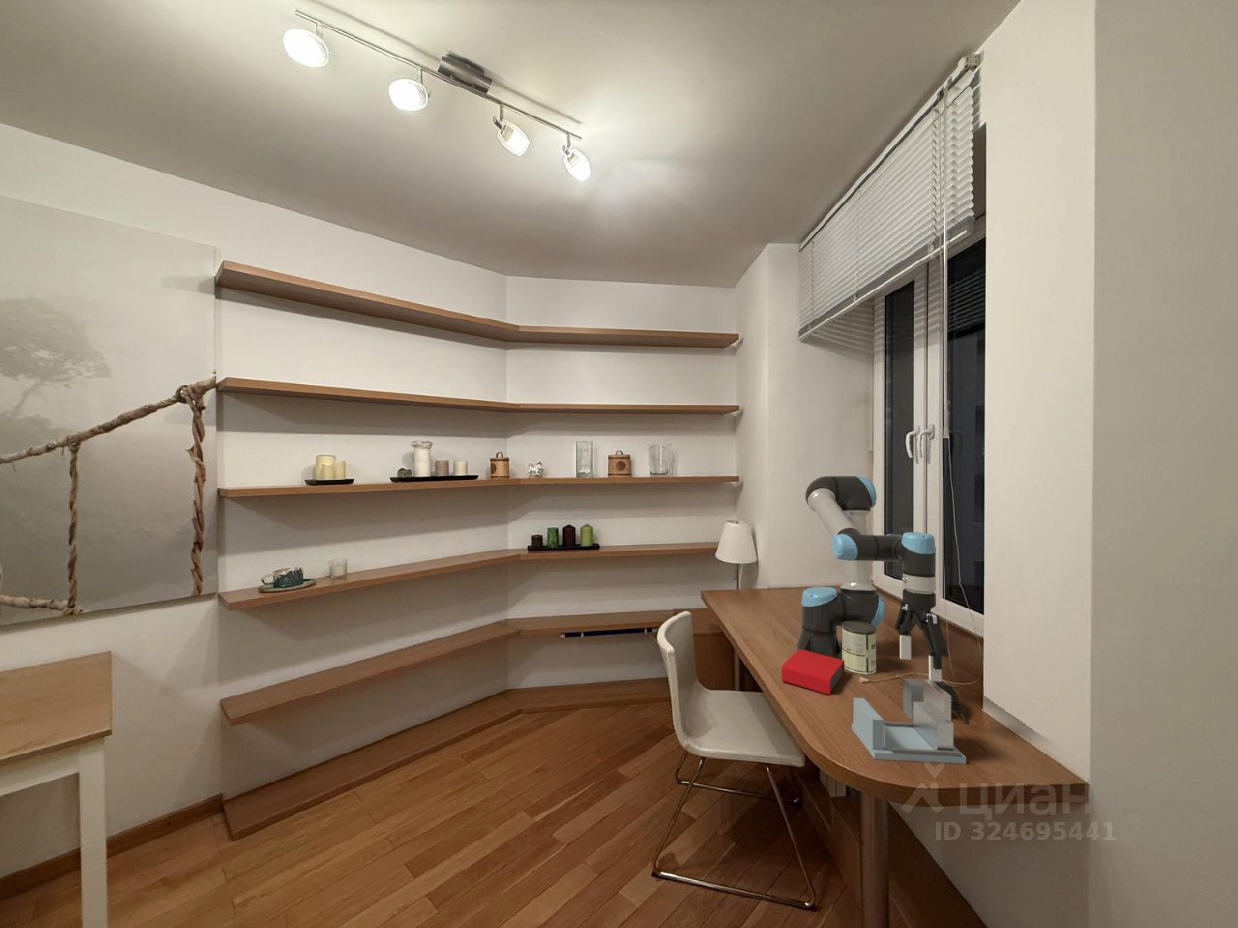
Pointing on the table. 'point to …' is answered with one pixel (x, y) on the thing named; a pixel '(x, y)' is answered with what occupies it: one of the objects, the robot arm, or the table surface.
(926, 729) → the sliding jaw
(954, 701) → the power plug
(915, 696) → the steel block
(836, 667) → the red device housing
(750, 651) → the table surface
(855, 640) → the coffee can
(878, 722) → the vise base
